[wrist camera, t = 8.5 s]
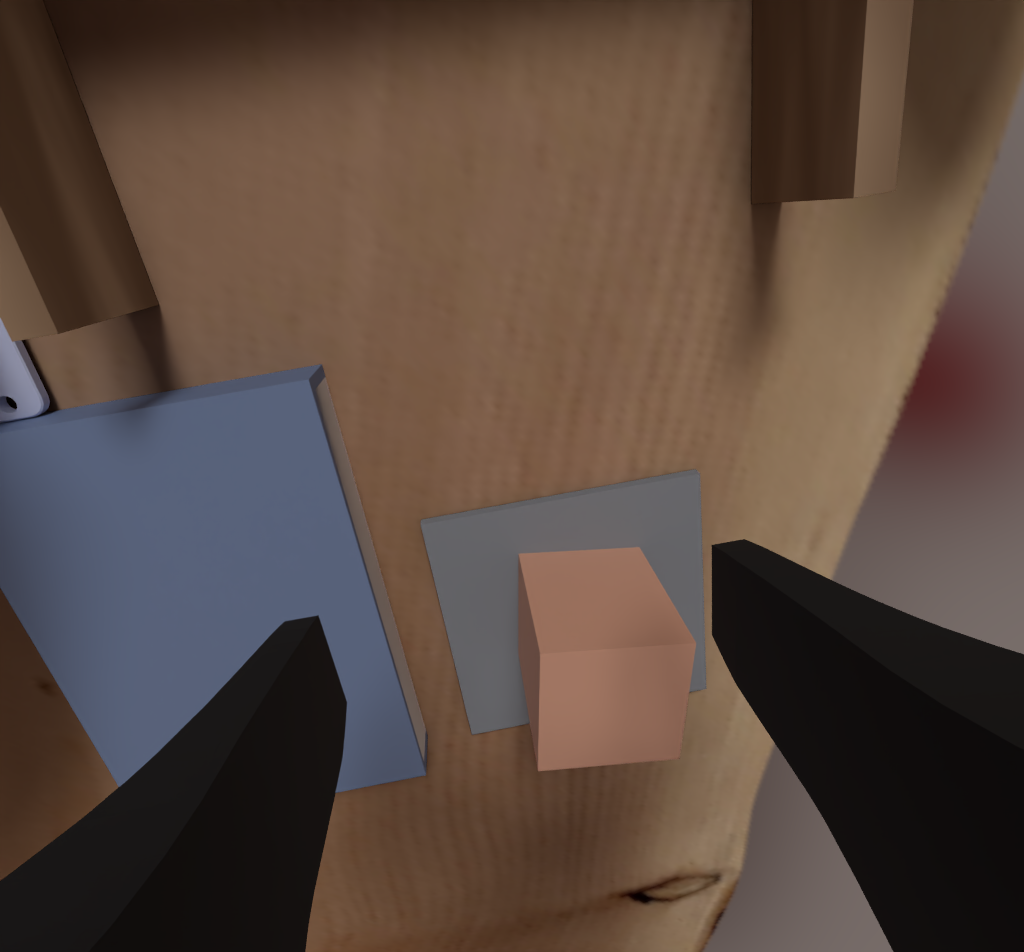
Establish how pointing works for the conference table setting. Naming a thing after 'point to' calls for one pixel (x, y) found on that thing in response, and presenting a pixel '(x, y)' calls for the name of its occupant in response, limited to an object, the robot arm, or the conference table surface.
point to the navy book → (199, 562)
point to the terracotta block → (601, 659)
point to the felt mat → (552, 528)
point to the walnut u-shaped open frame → (116, 260)
